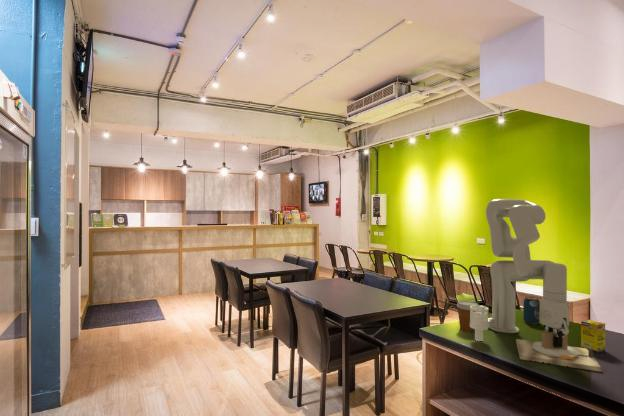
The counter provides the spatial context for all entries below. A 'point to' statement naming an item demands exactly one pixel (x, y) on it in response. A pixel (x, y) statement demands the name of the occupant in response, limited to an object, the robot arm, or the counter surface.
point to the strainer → (479, 320)
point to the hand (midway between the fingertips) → (554, 345)
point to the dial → (550, 350)
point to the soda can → (531, 310)
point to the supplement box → (593, 335)
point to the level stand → (581, 361)
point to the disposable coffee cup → (465, 314)
